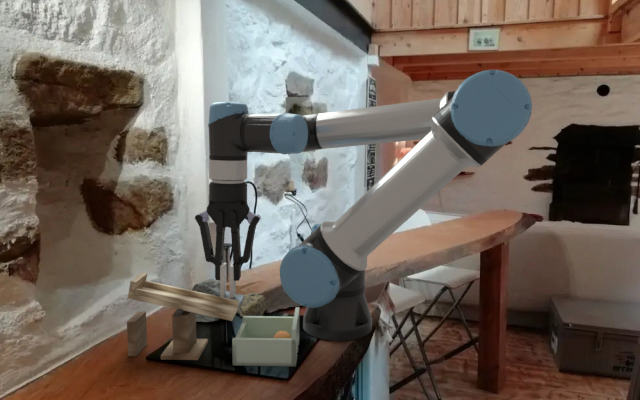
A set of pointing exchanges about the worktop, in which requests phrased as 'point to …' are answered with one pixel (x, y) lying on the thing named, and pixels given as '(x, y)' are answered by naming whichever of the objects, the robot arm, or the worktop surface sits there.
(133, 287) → the lever
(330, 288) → the robot arm
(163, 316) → the worktop surface
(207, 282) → the stone
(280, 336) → the brown egg
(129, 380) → the worktop surface
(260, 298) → the rock
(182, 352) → the fulcrum
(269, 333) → the bin
